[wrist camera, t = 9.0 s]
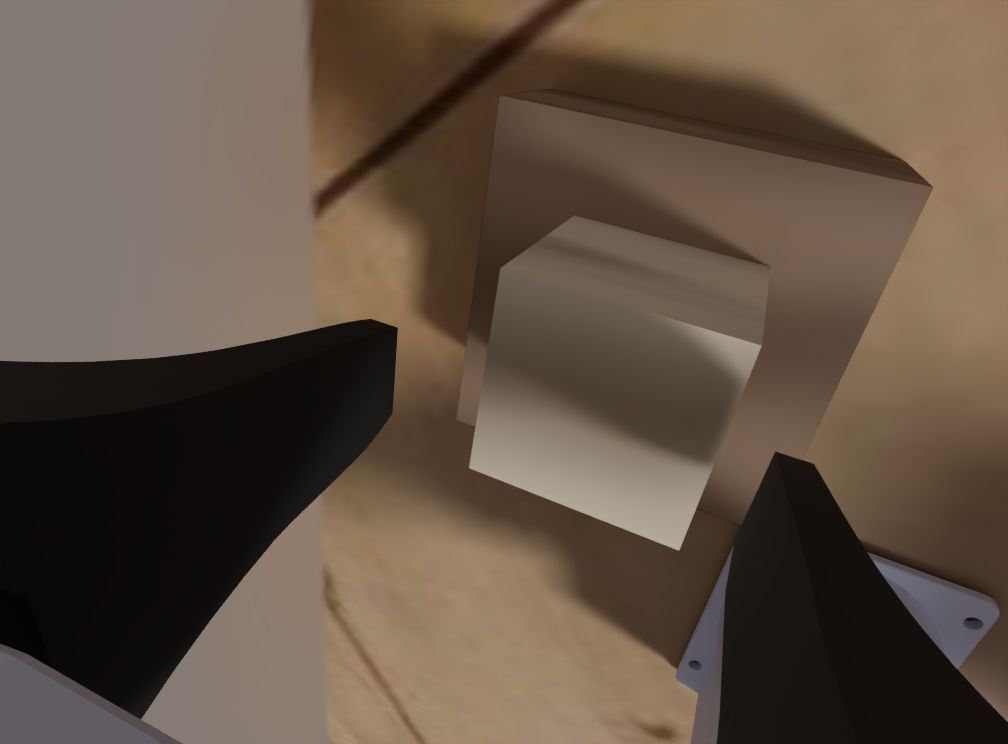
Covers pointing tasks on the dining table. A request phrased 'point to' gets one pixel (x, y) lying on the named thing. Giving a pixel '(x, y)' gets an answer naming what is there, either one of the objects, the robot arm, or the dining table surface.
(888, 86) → the dining table surface
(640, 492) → the maple cube
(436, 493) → the dining table surface
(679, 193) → the walnut block
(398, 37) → the dining table surface
